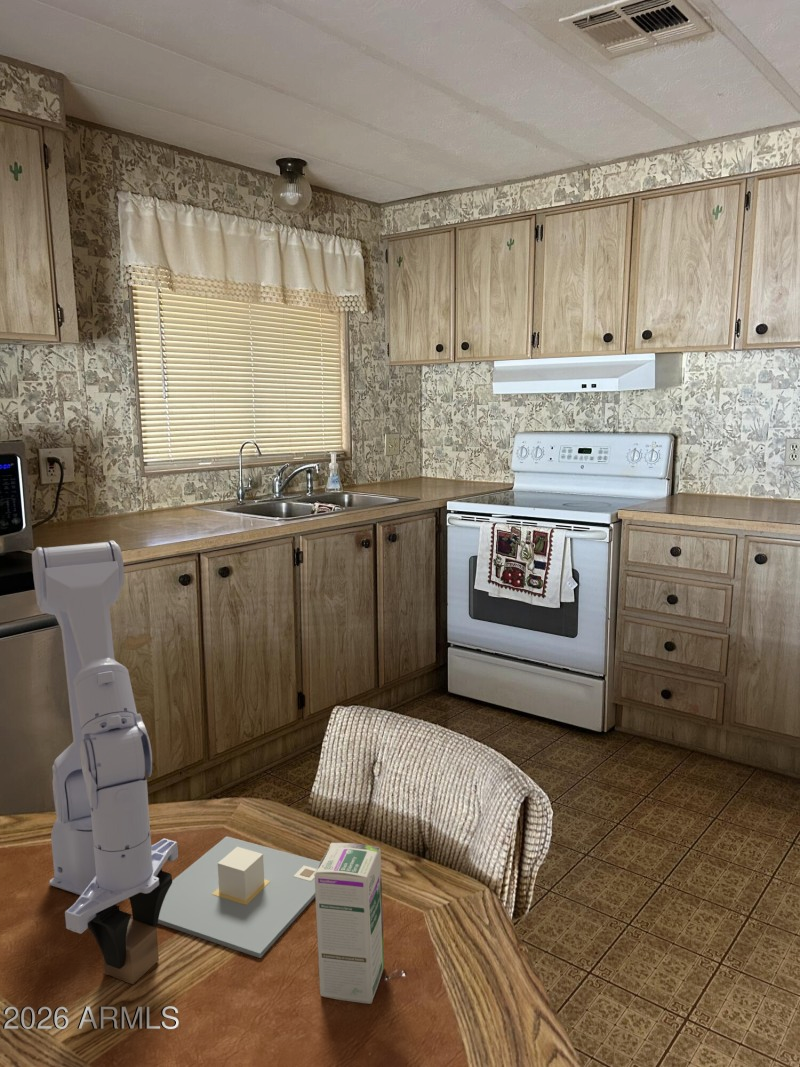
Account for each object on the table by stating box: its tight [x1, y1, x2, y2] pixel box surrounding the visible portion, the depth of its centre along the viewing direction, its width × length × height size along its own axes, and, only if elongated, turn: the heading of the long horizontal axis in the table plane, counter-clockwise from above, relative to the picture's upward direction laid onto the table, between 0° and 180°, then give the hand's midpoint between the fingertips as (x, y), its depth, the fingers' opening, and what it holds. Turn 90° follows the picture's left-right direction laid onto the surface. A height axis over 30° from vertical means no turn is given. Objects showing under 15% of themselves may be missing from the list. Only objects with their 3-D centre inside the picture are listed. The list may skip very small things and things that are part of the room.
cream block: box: [218, 847, 264, 901], centre depth 100 cm, size 4×4×4 cm
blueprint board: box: [157, 835, 321, 959], centre depth 100 cm, size 18×18×1 cm
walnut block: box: [102, 918, 160, 985], centre depth 87 cm, size 4×4×4 cm
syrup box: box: [314, 842, 385, 1005], centre depth 84 cm, size 6×6×14 cm
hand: (130, 950), depth 87 cm, fingers closed on walnut block, 4 cm apart
